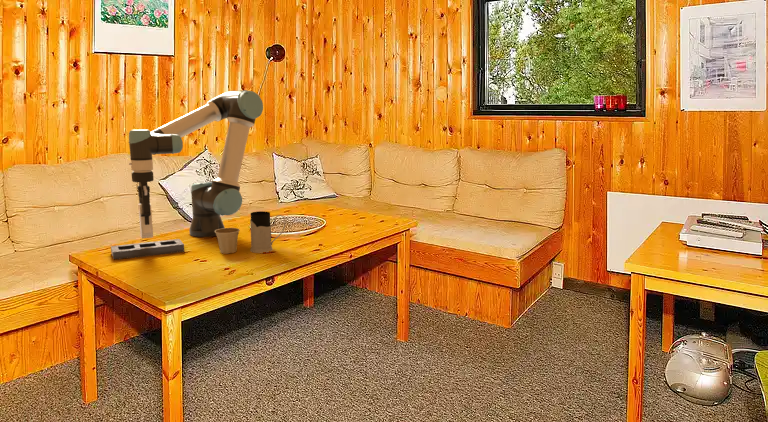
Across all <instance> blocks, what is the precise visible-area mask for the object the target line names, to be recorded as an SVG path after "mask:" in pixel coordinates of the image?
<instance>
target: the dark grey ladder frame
mask: <svg viewBox="0 0 768 422" xmlns="http://www.w3.org/2000/svg"><path fill="white" fill-rule="evenodd" d="M110 252H111V257H112V256H113V257H112V259H118V260H124V259H123V258H127V259H134V258H135V257H136V258H142V257H150V256H151V257H153V256H158V255H168V254H176V253H184V252H185V243H183V242H182V240H181V239H180V238H176V239H167V240H166V239H165V240H159V241H158V240H157V241H149V242H138V243H128V244H120V245H119V244H117V245H110Z"/></svg>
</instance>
